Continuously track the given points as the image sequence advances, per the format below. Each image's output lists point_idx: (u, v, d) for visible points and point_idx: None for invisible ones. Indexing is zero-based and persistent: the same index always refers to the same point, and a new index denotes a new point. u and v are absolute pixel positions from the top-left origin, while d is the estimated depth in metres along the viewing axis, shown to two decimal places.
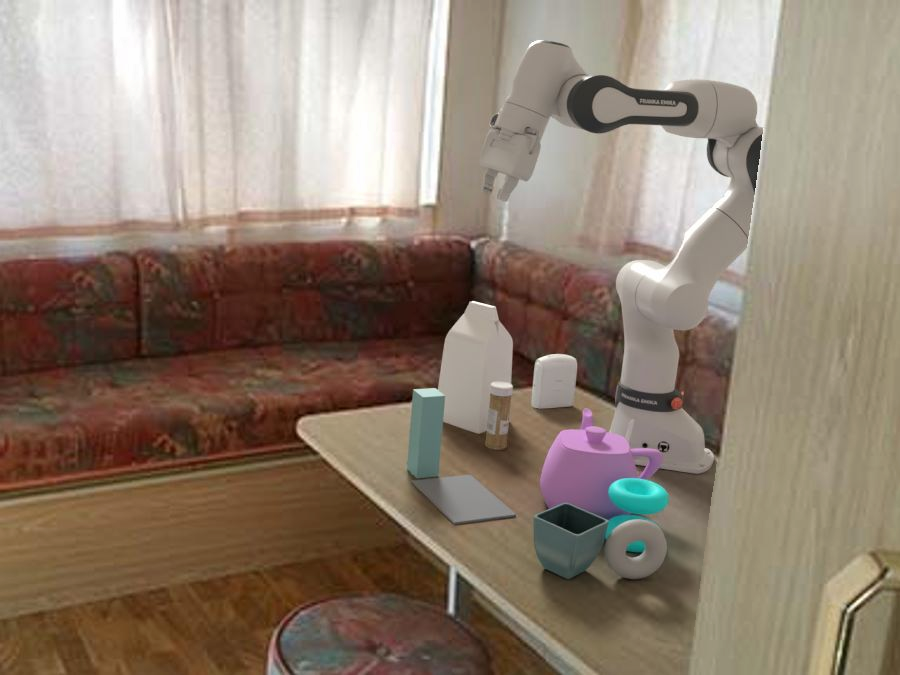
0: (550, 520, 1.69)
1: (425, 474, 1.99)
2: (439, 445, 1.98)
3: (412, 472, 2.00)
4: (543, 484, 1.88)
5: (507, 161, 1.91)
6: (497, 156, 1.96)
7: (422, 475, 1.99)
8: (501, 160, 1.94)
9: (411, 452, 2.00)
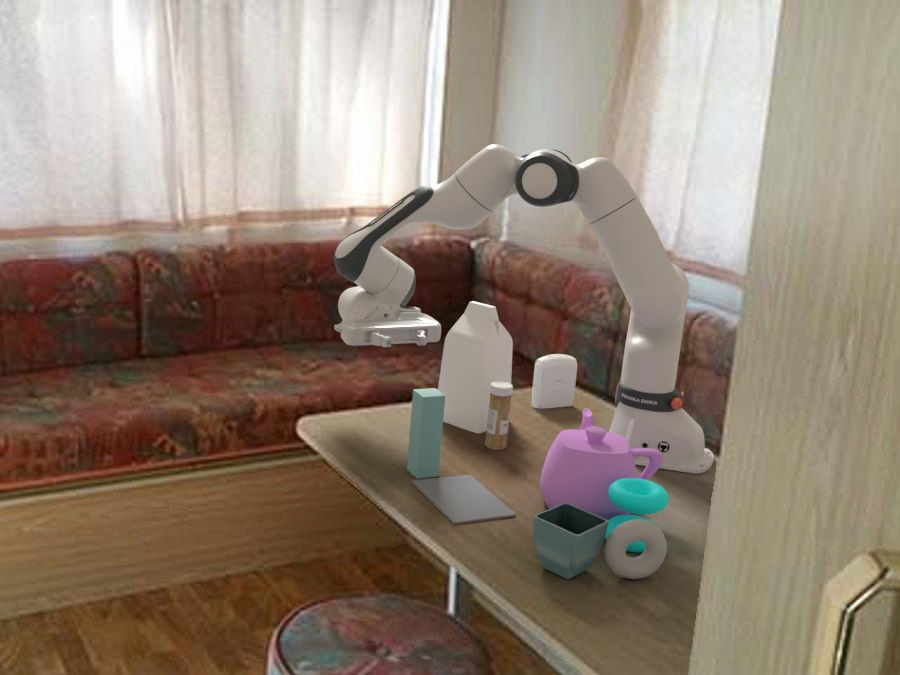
0: (550, 520, 1.69)
1: (425, 474, 1.99)
2: (439, 445, 1.98)
3: (412, 472, 2.00)
4: (543, 484, 1.88)
5: None
6: None
7: (422, 475, 1.99)
8: None
9: (411, 452, 2.00)
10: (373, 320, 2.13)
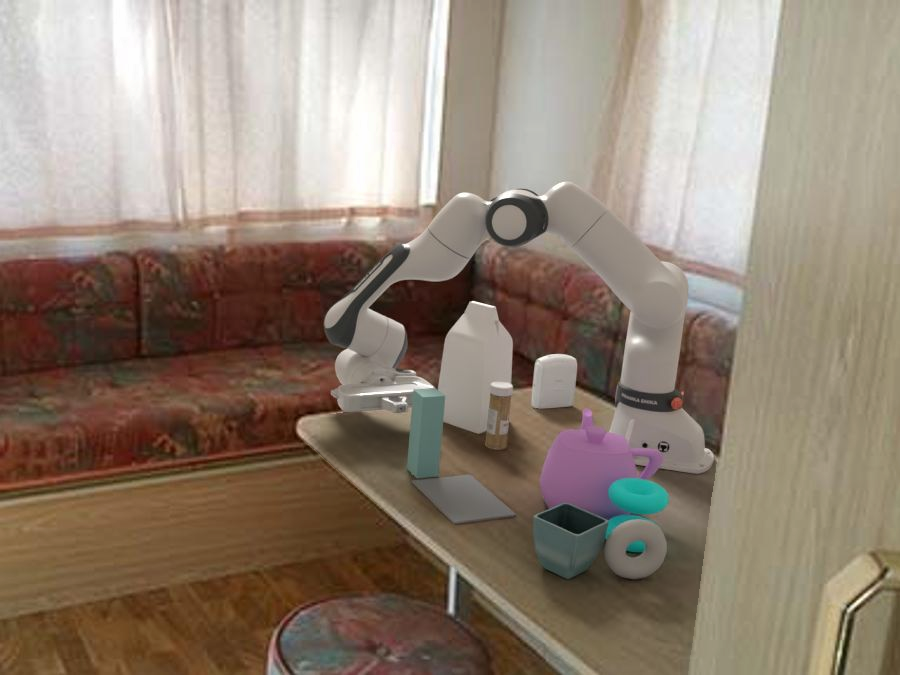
0: (550, 520, 1.69)
1: (425, 474, 1.99)
2: (439, 445, 1.98)
3: (412, 472, 2.00)
4: (543, 484, 1.88)
5: None
6: None
7: (422, 475, 1.99)
8: None
9: (411, 452, 2.00)
10: (369, 385, 2.16)
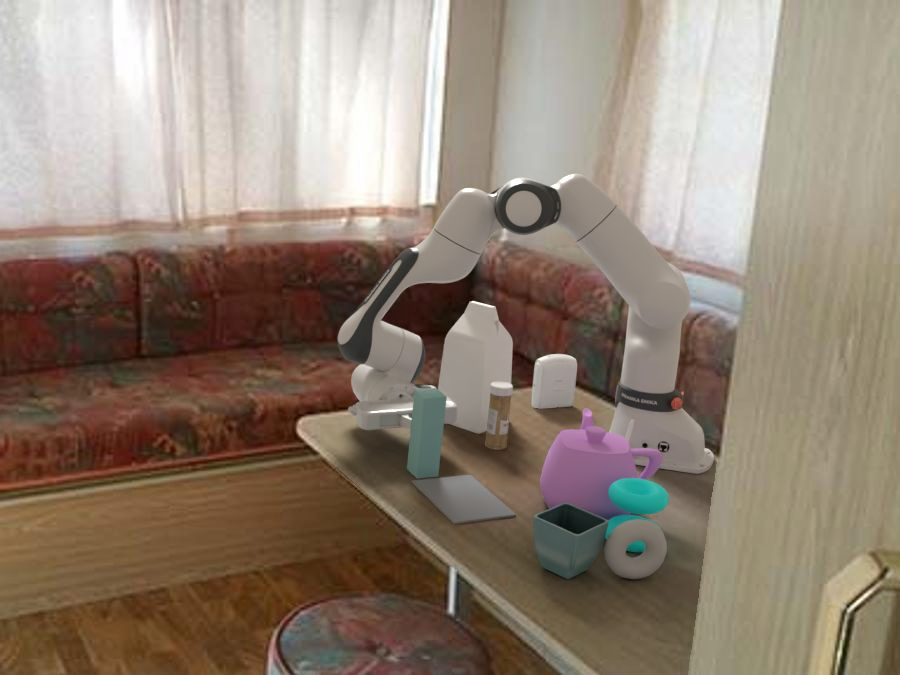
0: (550, 520, 1.69)
1: (425, 474, 1.99)
2: (440, 445, 1.98)
3: (412, 471, 2.00)
4: (543, 484, 1.88)
5: None
6: None
7: (422, 475, 1.99)
8: None
9: (411, 452, 2.00)
10: (388, 402, 2.08)
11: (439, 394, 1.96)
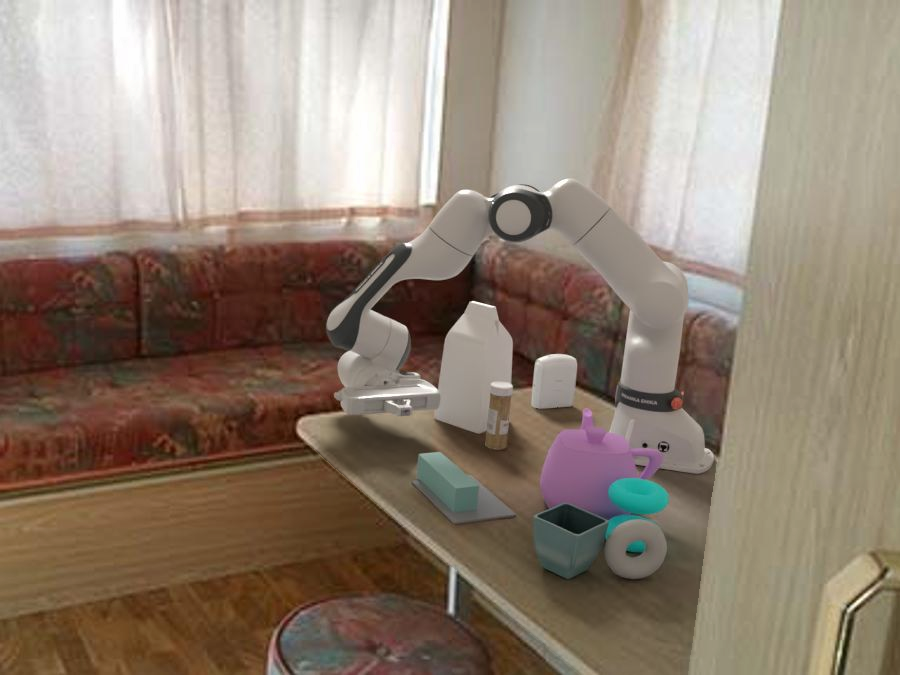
0: (550, 520, 1.69)
1: None
2: None
3: (418, 468, 1.97)
4: (543, 484, 1.88)
5: None
6: None
7: None
8: None
9: (426, 469, 1.94)
10: (373, 388, 2.14)
11: (473, 503, 1.86)
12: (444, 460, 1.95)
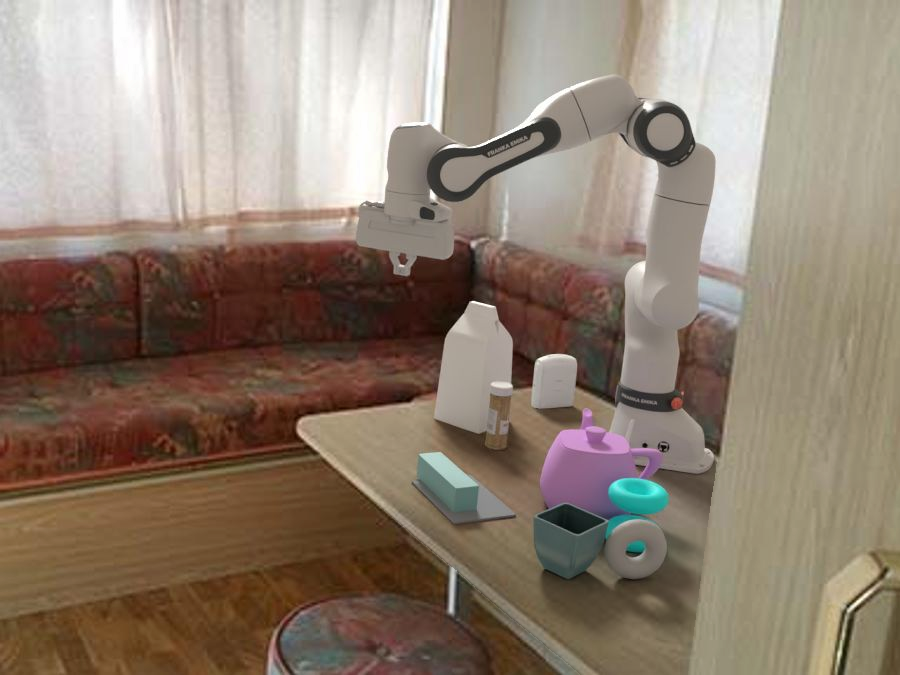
0: (550, 520, 1.69)
1: None
2: None
3: (418, 468, 1.97)
4: (543, 484, 1.88)
5: None
6: None
7: None
8: None
9: (426, 469, 1.94)
10: (388, 222, 2.10)
11: (473, 503, 1.86)
12: (444, 460, 1.95)
